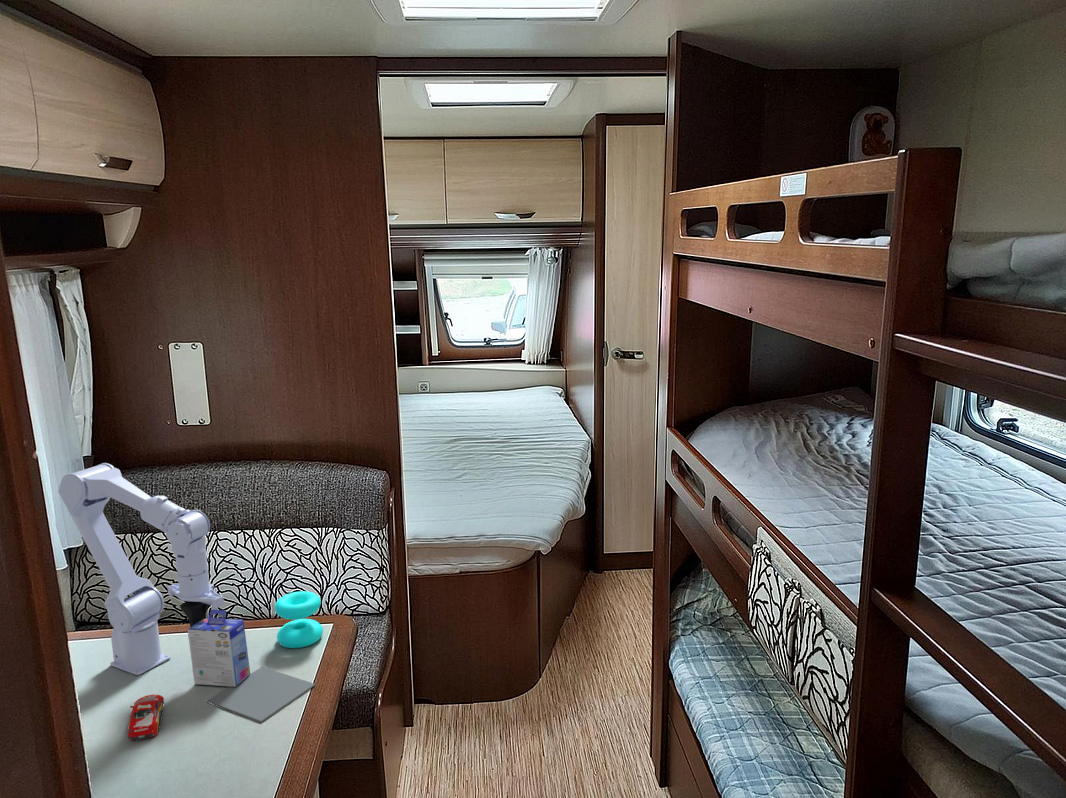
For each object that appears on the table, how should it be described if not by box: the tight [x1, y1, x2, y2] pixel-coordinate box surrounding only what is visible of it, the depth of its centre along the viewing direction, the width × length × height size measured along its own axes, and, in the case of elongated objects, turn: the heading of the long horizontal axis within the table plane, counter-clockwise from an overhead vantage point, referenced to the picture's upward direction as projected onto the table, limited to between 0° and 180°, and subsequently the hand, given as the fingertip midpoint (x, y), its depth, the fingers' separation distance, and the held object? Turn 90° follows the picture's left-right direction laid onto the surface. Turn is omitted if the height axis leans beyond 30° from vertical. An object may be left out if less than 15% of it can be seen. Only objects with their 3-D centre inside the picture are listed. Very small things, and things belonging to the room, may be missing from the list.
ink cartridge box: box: [187, 609, 251, 687], centre depth 153 cm, size 10×6×14 cm, turn 79°
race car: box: [127, 693, 165, 742], centre depth 141 cm, size 13×5×4 cm, turn 19°
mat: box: [206, 666, 316, 724], centre depth 149 cm, size 15×14×1 cm
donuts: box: [274, 590, 324, 649], centre depth 170 cm, size 10×10×10 cm
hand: (199, 632), depth 156 cm, fingers closed, pressing on ink cartridge box
